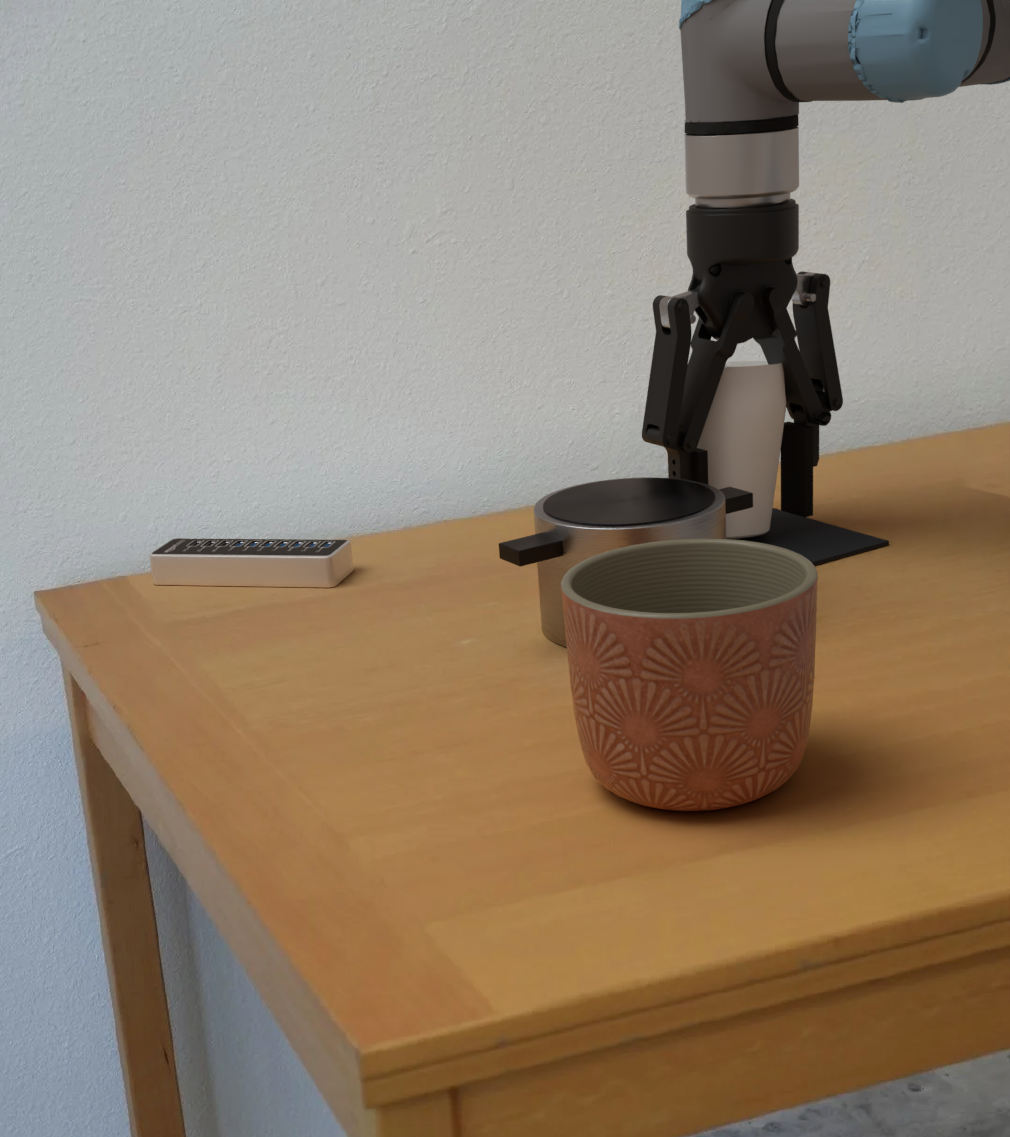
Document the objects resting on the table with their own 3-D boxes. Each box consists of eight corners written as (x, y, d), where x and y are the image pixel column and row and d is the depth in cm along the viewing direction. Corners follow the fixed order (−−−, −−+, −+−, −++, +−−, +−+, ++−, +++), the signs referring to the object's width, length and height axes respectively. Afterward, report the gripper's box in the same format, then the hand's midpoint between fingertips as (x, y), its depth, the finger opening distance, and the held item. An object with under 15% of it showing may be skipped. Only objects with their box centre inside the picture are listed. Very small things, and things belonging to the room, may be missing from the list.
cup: (694, 522, 130) (692, 362, 127) (805, 526, 126) (805, 360, 122) (640, 539, 123) (636, 369, 120) (755, 544, 118) (755, 367, 115)
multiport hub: (334, 587, 122) (330, 556, 121) (151, 584, 126) (146, 554, 125) (355, 569, 126) (352, 538, 125) (177, 566, 130) (172, 537, 129)
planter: (746, 852, 79) (741, 629, 75) (526, 802, 86) (510, 596, 82) (858, 755, 88) (860, 552, 84) (651, 717, 95) (643, 528, 91)
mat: (889, 544, 121) (889, 540, 121) (734, 588, 115) (734, 583, 115) (762, 508, 132) (762, 504, 132) (615, 546, 126) (614, 542, 126)
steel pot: (803, 612, 109) (802, 489, 106) (570, 681, 101) (561, 549, 98) (689, 572, 119) (685, 457, 116) (467, 632, 111) (457, 510, 107)
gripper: (826, 180, 122) (824, 488, 131) (577, 214, 112) (593, 545, 121) (901, 184, 116) (893, 506, 125) (644, 220, 106) (656, 568, 115)
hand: (746, 525), depth 123 cm, fingers closed on cup, 9 cm apart
